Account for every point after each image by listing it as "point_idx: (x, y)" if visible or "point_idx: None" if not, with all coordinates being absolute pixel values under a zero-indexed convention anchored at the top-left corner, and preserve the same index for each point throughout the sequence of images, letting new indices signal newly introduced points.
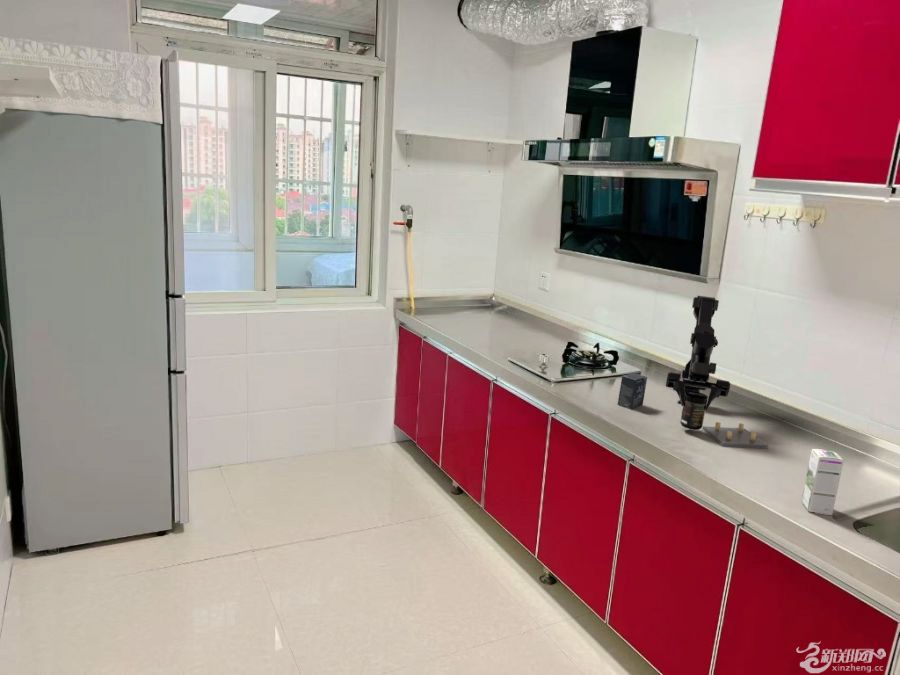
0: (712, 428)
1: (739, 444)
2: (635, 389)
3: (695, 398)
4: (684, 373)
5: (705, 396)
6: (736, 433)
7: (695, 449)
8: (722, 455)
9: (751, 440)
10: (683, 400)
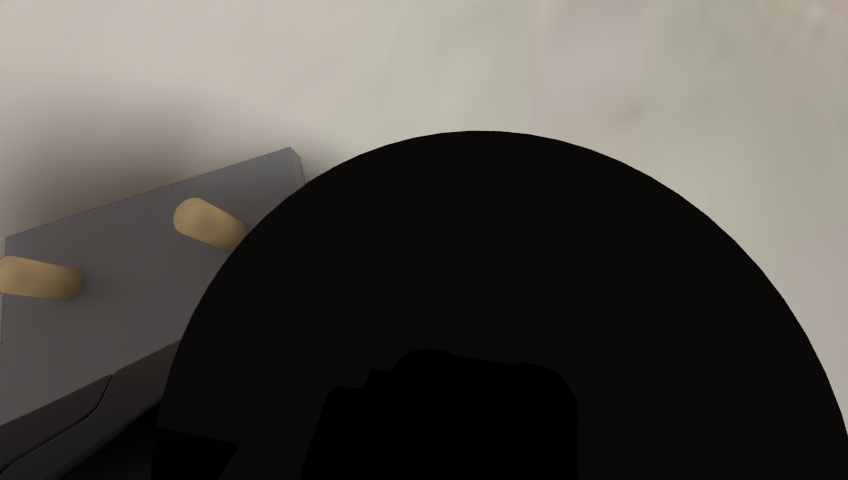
0: None
1: (185, 183)
2: None
3: (523, 141)
4: None
5: (225, 379)
6: None
7: (489, 23)
8: (343, 10)
9: (73, 269)
10: None
